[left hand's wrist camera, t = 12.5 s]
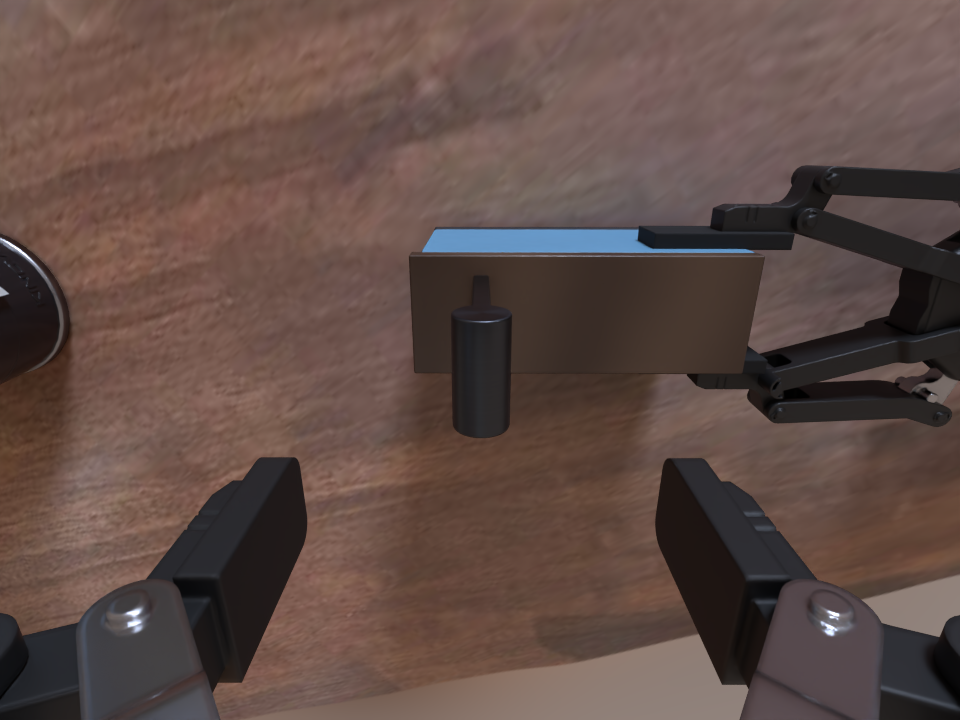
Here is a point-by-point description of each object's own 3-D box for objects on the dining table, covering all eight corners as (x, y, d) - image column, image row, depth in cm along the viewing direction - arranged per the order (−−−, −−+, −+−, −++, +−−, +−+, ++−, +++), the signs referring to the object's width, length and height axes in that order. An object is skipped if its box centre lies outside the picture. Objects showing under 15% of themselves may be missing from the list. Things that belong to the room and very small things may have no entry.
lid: (416, 366, 26) (389, 457, 18) (411, 251, 24) (377, 298, 16) (734, 367, 26) (842, 458, 18) (756, 252, 24) (887, 299, 16)
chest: (438, 317, 34) (425, 366, 26) (435, 227, 32) (420, 251, 24) (675, 317, 34) (734, 367, 26) (687, 227, 32) (755, 252, 24)
